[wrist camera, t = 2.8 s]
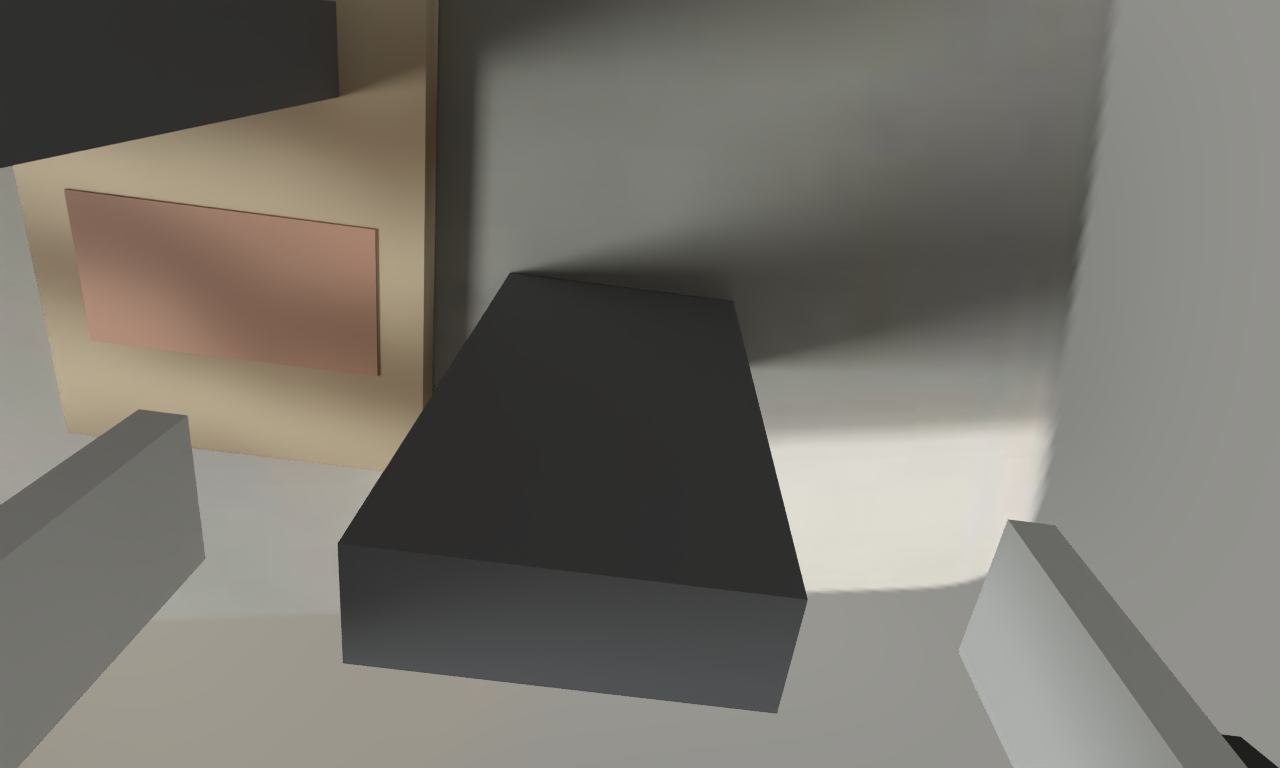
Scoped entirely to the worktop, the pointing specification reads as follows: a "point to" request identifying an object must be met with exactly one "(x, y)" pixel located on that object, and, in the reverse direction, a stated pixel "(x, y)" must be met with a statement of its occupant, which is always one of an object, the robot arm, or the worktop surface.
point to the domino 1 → (153, 68)
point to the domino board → (257, 262)
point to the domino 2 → (584, 509)
